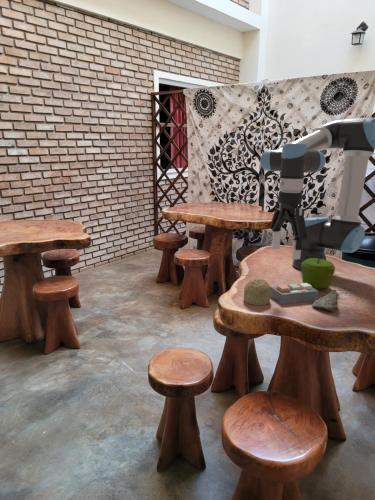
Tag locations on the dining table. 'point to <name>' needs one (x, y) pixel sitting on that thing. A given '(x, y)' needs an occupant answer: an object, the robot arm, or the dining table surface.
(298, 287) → the key
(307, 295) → the keypad
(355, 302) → the dining table surface
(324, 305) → the rock sample
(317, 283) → the apple
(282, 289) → the key
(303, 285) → the key
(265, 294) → the decorative object
